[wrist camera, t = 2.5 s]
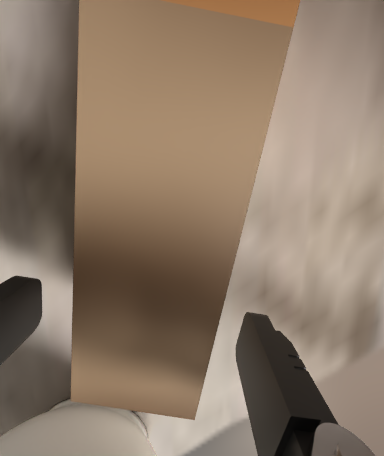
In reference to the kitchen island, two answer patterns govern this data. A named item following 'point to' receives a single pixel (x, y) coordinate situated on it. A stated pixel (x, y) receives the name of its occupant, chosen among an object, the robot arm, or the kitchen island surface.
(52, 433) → the lidded bowl
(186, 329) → the bar
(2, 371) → the kitchen island surface
